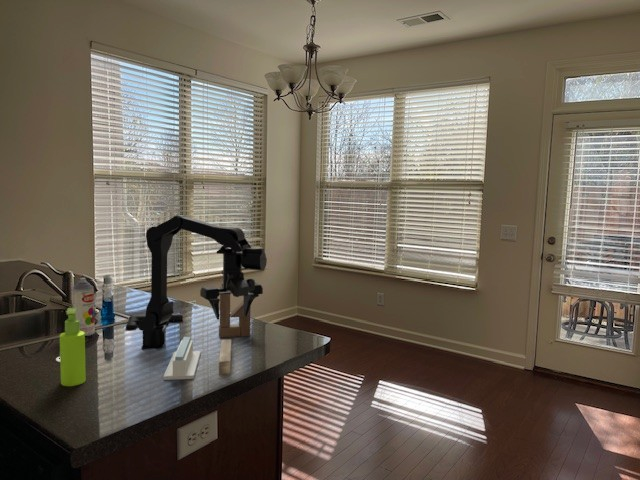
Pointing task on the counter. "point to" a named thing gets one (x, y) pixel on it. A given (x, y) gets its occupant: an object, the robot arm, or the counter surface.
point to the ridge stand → (183, 361)
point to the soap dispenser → (72, 352)
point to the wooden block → (225, 315)
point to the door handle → (137, 319)
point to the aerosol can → (84, 306)
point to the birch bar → (225, 357)
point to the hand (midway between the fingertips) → (231, 317)
